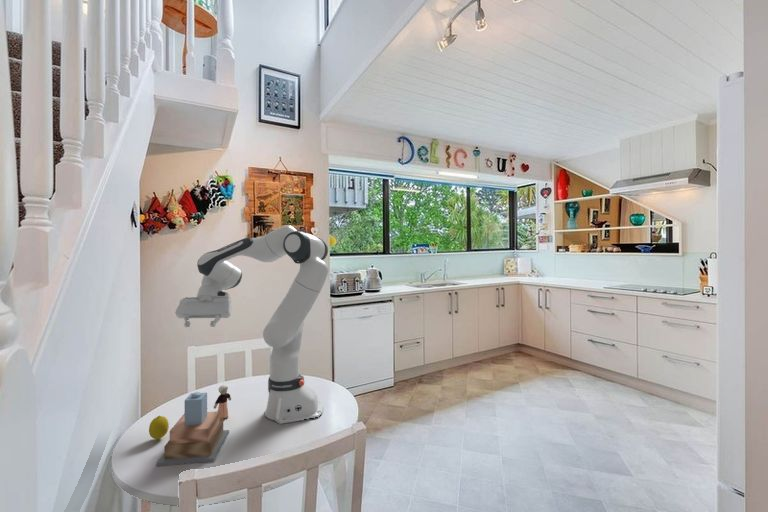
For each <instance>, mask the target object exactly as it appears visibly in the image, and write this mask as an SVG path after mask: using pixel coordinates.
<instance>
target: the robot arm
mask: <svg viewBox="0 0 768 512" xmlns="http://www.w3.org/2000/svg"><path fill="white" fill-rule="evenodd" d="M328 247H329V246H328V245H327V243H326V242H325V241H324V240H323V238H322V239H321V238H319V237H317V236H315V235H313V234H311V233H308V232H304V231H302V230H297V228H295V227H294V226H293V225H289V224H287V225H283V226H280V227H278V228H276V229H274V230H272V231H270V232H268V233H267V234H265V235H262V236H258V237H245V238H241V239H239V240H237V241H234V242H231V243H230V244H227V245H225V246H222V247H220V248H218V249H216V250H212V251H208V252H205V253H203V254H202V255H201V256H200V257H199V258H198V260H197V265H196V266H197V269H198V272H199V274H202V275H203V277H202V279H201V286H200V287H199V288H198V292H197V294H196V297H193V296H191V297H184V298H182V299H180V300H179V304H178V305H177V307H176V309H175V312H174V313H175V315H176V317H177V318H178V319H183V320H184V324H183V325H184V327H185V328H190V326H191V322H190V319H213V320H211V321H210V323H209V326H210V327H212V328H215V327H216V325H217V323H218V322H219V321H220V320H221V319H229V317H231V315H232V310H233V309H232V299H231V296H230V294H229V292H227V291H228V290H231V289H234V288H236V287H237V286H238V285H239V284H240V283H241V281H242V277H243V272H242V269H240V268H239V267H238V266H236V265H235V264H233V263H232V262H230V261H228V260H230V259H231V260H232V259H233V258H236V257H239V256H242V257H244V256H245V257H248V258H252V259H254V260H257V261H259V262H262V263H273V262H275V261H278V260H279V259H281V258H282V257H284V256H286V255H287V256H289V257H290V259H291V260H292V261H293V262H294V263H295V264H298V265H299V270H298V272H297V274H296V276H295V278H294V280H293V281H292V283H291V285H290V288H289V289H288V291H287V293H286V294H285V296H284V298H283V299H282V300H281V302H280V304H279V305H278V307H277V308H276V310H274V313H273V315H272V316H271V318H270V319H269V321H268V323H267V324H266V325H265V327H264V330H263V331H262V337H263V340H264V343H266V345H267V346H269V347H271V348H272V349H271V354H270V357H269V377H268V380H267V391H268V399H267V402H266V403H267V405H266V409H265V411H264V415H265V417H266V418H267V419H269V420H271V421H275V422H276V423H277V424H281V425H282V424H288V423H293V422H300V420H301V421H305V420H304V419H307V420H310V419H309V418H314V419H316V418H315V417H318V418H320V417H321V416H322V415H321V413H322V411H323V412H324V403H323V402H322V401H321V400H320V399H318V395H317V393H316V391H315V389H314V388H311V387H310V386H308V385H307V384H306V383H305V377H304V374H302V375H301V374H300V363H299V362H300V351H301V345H302V337H303V327H304V324H305V323H304V320H305V319H306V318H307V316H308V314H309V312H310V311H311V309H312V308H313V306H314V304H315V302H316V301H317V299H318V297H319V295H320V293H321V291H322V289H323V287H324V285H325V283H326V280H327V277H328V275H329V274H328V273H329V265H328V264H327V262H325V261H324V260H325V259H326V258H327V257H328V253H329V248H328ZM226 290H227V291H226ZM318 402H322V403H318ZM319 412H320V413H319ZM322 414H323V413H322ZM320 415H321V416H320ZM319 416H320V417H319Z"/></svg>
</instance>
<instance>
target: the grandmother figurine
mask: <svg viewBox="0 0 768 512" xmlns="http://www.w3.org/2000/svg"><path fill="white" fill-rule="evenodd" d="M228 390H229V387H228V385H225V384H221V386H219V388H218V392H219V393H220V394H219V395H218V397H217V399H216V400H215V402H214V405H213V409H217V411H219V421H223V422H224V419H227V418H229V408H228V401H231V400H232V397H231V394H230V393H229V392H228Z"/></svg>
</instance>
